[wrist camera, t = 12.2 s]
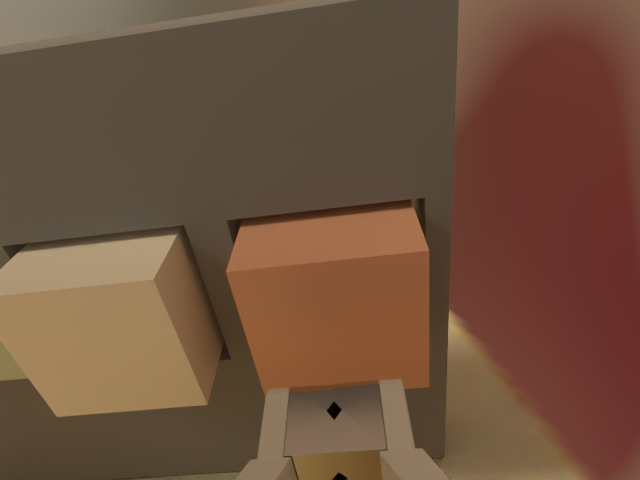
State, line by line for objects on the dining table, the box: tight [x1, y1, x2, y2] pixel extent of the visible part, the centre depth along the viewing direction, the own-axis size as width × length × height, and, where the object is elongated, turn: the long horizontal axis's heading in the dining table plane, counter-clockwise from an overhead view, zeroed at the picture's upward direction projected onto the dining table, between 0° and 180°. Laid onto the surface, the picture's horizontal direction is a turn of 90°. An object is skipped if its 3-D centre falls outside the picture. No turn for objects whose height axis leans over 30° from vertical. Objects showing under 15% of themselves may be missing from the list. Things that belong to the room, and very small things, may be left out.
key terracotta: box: [226, 199, 429, 398], centre depth 13 cm, size 5×4×5 cm
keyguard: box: [0, 0, 459, 480], centre depth 17 cm, size 20×7×17 cm, turn 90°
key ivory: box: [0, 225, 224, 417], centre depth 14 cm, size 5×4×5 cm
